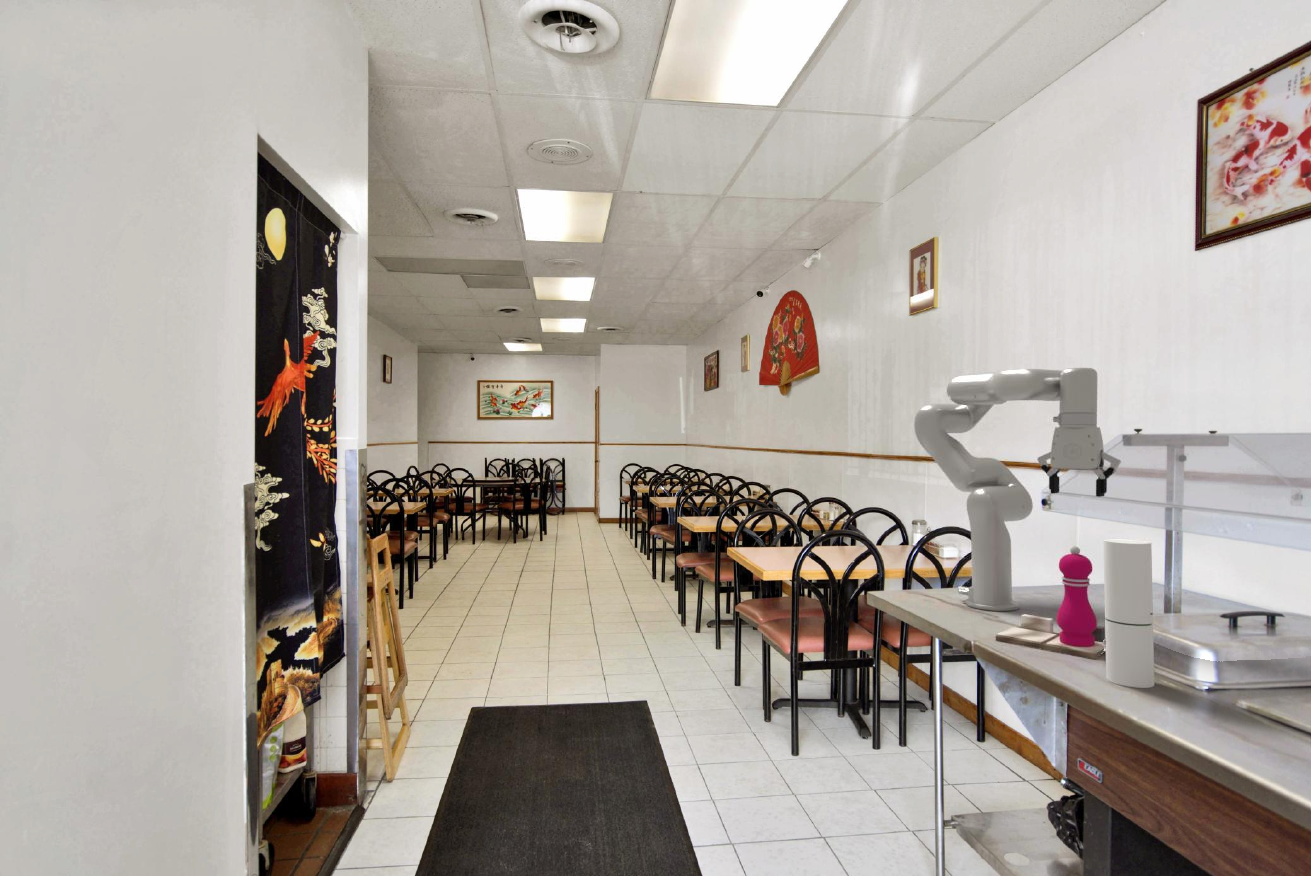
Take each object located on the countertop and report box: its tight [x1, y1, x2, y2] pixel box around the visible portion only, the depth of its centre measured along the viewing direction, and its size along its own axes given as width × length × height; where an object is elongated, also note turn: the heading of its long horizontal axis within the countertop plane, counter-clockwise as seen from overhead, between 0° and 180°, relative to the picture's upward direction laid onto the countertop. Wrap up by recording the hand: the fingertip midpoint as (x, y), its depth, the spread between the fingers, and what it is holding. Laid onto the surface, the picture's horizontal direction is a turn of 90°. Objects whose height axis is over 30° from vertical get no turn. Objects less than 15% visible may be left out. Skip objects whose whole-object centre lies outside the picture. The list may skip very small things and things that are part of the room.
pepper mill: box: [1056, 546, 1098, 647], centre depth 145 cm, size 7×7×20 cm
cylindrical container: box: [1102, 538, 1155, 689], centre depth 125 cm, size 7×7×25 cm
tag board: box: [995, 613, 1105, 660], centre depth 149 cm, size 19×12×4 cm, turn 42°
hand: (1077, 494), depth 163 cm, fingers open, 9 cm apart
